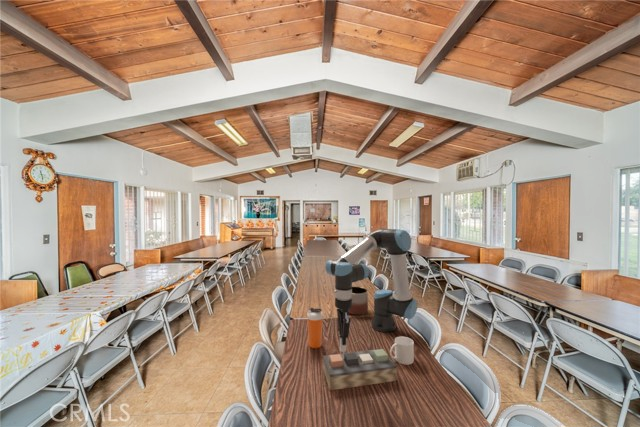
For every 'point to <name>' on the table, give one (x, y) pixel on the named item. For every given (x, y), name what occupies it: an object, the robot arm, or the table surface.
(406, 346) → the mug
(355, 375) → the console
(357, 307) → the planter
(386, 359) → the key sage
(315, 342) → the shaker bottle
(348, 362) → the key dark gray
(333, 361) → the key terracotta
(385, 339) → the table surface
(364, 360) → the key ivory
